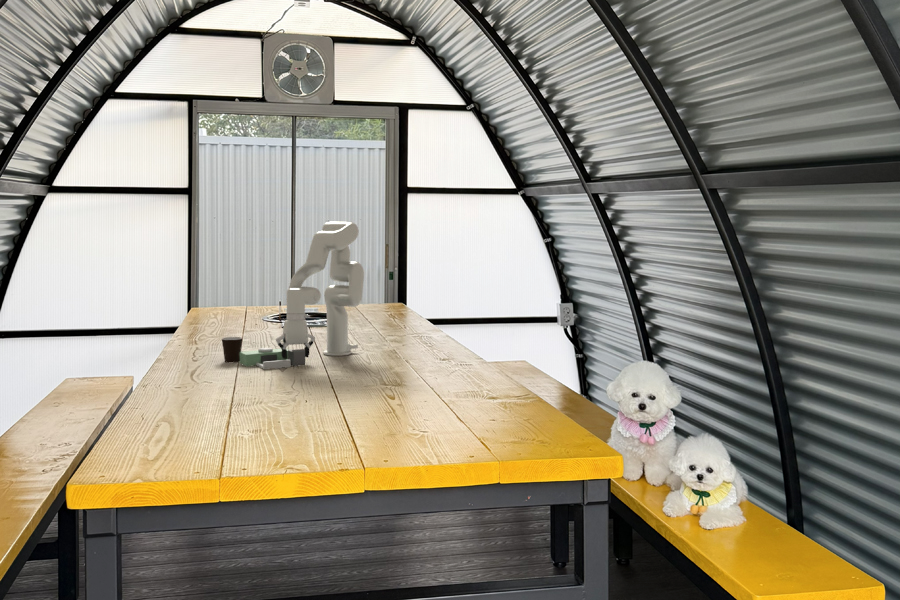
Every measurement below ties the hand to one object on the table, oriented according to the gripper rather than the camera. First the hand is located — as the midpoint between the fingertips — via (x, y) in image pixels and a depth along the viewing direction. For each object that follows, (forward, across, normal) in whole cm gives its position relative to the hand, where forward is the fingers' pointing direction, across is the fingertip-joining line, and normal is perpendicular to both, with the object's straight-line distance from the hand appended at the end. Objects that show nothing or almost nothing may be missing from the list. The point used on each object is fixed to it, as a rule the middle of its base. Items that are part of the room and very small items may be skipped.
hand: (295, 357), depth 340 cm
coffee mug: (+3, +19, -22) cm, 30 cm away
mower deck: (+3, +9, -5) cm, 11 cm away
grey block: (+3, -1, 0) cm, 3 cm away
